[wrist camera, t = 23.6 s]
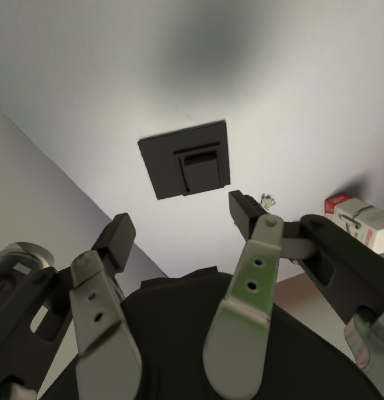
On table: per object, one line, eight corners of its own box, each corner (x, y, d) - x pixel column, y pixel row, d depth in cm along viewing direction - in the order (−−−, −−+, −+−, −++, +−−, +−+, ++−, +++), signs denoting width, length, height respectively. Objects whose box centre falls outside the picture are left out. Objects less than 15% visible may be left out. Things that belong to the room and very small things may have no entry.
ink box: (324, 199, 38) (378, 230, 28) (344, 191, 37) (407, 220, 27) (324, 223, 42) (371, 258, 32) (342, 217, 42) (396, 250, 31)
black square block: (189, 185, 32) (191, 194, 28) (183, 160, 29) (184, 166, 25) (215, 180, 32) (220, 188, 28) (211, 153, 29) (216, 158, 25)
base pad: (158, 197, 34) (157, 203, 32) (138, 141, 28) (135, 143, 26) (229, 182, 33) (232, 186, 31) (224, 122, 28) (228, 122, 25)
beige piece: (233, 222, 39) (237, 229, 37) (261, 183, 34) (267, 187, 32) (256, 230, 41) (260, 237, 39) (285, 194, 36) (293, 199, 34)
